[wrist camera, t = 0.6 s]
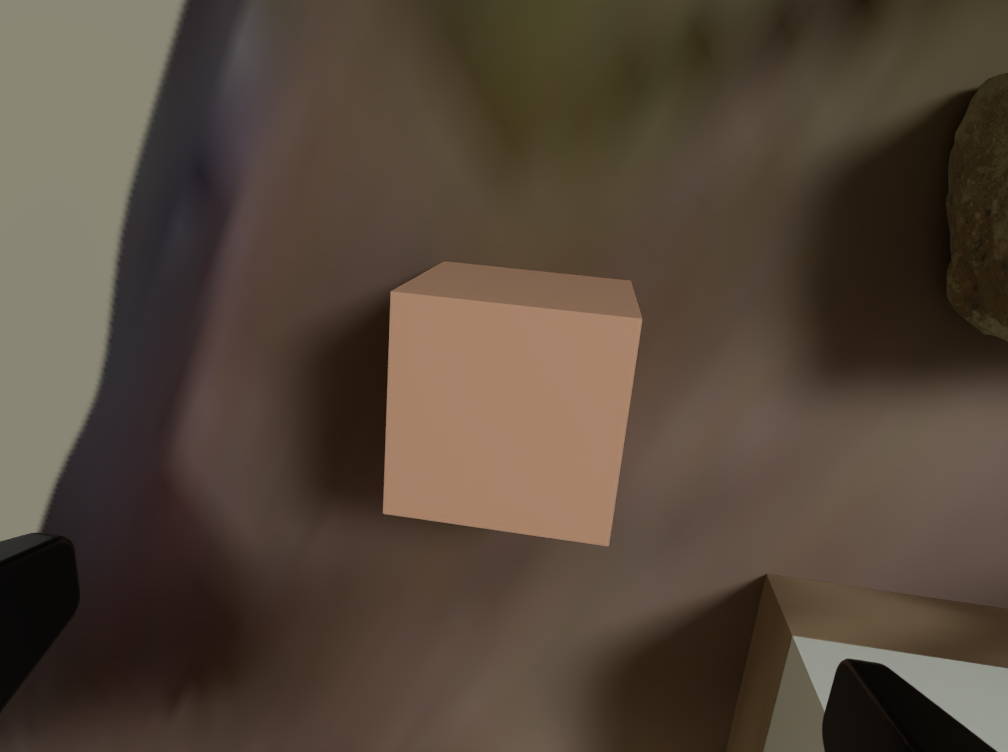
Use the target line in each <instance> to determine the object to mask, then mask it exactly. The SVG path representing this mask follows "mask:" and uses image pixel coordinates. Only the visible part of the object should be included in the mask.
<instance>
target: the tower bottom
mask: <svg viewBox="0 0 1008 752" xmlns="http://www.w3.org/2000/svg"><path fill="white" fill-rule="evenodd" d="M792 636H797V637H804V638H811V639H817V640H824V641H830V642H837V643H844V644H850V645H857V646H863V647H870V648H876V649H883V650H890V651H896V652H903V653H909V654H916V655H923V656H929V657H936V658H942V659H949V660H955V661H962V662H969V663H975V664H982V665H988V666H995V667H1002V668H1008V609H1004V608H997V607H990V606H983V605H976V604H970V603H963V602H956V601H949V600H942V599H935V598H928V597H922V596H915V595H908V594H901V593H894V592H887V591H880V590H874V589H867V588H860V587H853V586H846V585H839V584H832V583H825V582H819V581H812V580H805V579H798V578H791V577H784V576H777V575H771V574H766V578H765V583H764V587H763V591H762V596H761V600H760V604H759V609H758V613H757V617H756V622H755V626H754V630H753V635H752V639H751V644H750V648H749V652H748V657H747V661H746V665H745V670H744V674H743V678H742V683H741V687H740V691H739V696H738V700H737V705H736V709H735V713H734V718H733V722H732V726H731V731H730V735H729V739H728V744H727V748H726V752H763V750H764V747H765V743H766V739H767V735H768V731H769V727H770V723H771V719H772V715H773V711H774V707H775V703H776V699H777V695H778V691H779V687H780V683H781V679H782V675H783V671H784V667H785V663H786V659H787V655H788V652H789V648H790V644H791V640H792Z"/></svg>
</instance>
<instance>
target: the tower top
mask: <svg viewBox="0 0 1008 752" xmlns="http://www.w3.org/2000/svg"><path fill="white" fill-rule="evenodd" d="M848 658H849V659H856V660H863V661H869V662H876V663H881V664H883V665H885V666H887V667H888V668H890V669H891V670H892V671H894V672H895V673H896V674H898V675H899V676H900V677H901V678H903V679H904V680H905V681H907V682H908V683H909V684H911V685H912V686H913V687H914V688H916V689H917V690H918V691H920V692H921V693H922V694H923V695H925V696H926V697H927V698H929V699H930V700H931V701H933V702H934V703H935V704H936V705H938V706H939V707H940V708H942V709H943V710H944V711H946V712H947V713H948V714H949V715H951V716H952V717H953V718H955V719H956V720H957V721H959V722H960V723H961V724H962V725H964V726H965V727H966V728H968V729H969V730H970V731H971V732H973V733H974V734H975V735H977V736H978V737H979V738H981V739H982V740H983V741H984V742H986V743H987V744H988V745H990V746H991V747H992V748H994V749H995V750H996V751H997V752H1008V668H1002V667H995V666H988V665H982V664H975V663H969V662H962V661H955V660H949V659H942V658H936V657H929V656H923V655H916V654H909V653H903V652H896V651H890V650H883V649H876V648H870V647H863V646H857V645H850V644H844V643H837V642H830V641H824V640H817V639H811V638H804V637H797V636H792V640H791V644H790V648H789V652H788V655H787V659H786V663H785V667H784V671H783V675H782V679H781V683H780V687H779V691H778V695H777V699H776V703H775V707H774V711H773V715H772V719H771V723H770V727H769V731H768V735H767V739H766V743H765V747H764V750H763V752H825V750H824V745H823V739H822V722H823V716H824V713H825V709H826V705H827V702H828V698H829V694H830V691H831V687H832V683H833V680H834V676H835V672H836V669H837V667H838V665H839V664H840V662H841V661H843V660H845V659H848Z"/></svg>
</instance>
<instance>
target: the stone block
mask: <svg viewBox="0 0 1008 752" xmlns="http://www.w3.org/2000/svg"><path fill="white" fill-rule="evenodd" d="M946 211H947V221H948V225H949V229H950V251H951V261H950V263H949V266H948V269H947V294H946V297H947V299H948V301H949V302H950V304H951V305H952V307H953V309H954V310H955V312H956V313H957V314H958V315H960V316H961V317H962V318H964V319H965V320H966V321H968V322H969V323H970V324H972V325H973V326H974V327H976V328H977V329H978V330H979V331H981V332H982V333H983V334H987V335H994V336H996V337H998V338H1001V339H1003V340H1006V341H1008V73H1006V74H1001V75H997V76H995V77H992V78H989V79H988V80H986V81H985V82H984V83H983V84H982V85H981V86H980V88H979V89H978V91H977V92H976V94H975V95H974V97H973V98H972V99H971V101H970V103H969V105H968V108H967V111H966V113H965V116H964V118H963V120H962V122H961V124H960V125H959V127H958V129H957V131H956V133H955V140H954V147H953V148H952V150H951V152H950V156H949V165H948V196H947V198H946Z"/></svg>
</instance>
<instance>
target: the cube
mask: <svg viewBox="0 0 1008 752" xmlns="http://www.w3.org/2000/svg"><path fill="white" fill-rule="evenodd" d="M641 325H642V316H641V313H640V309H639V306H638V303H637V300H636V296H635V293H634V290H633V286H632V283H631V281H628V280H619V279H609V278H599V277H590V276H580V275H570V274H561V273H551V272H542V271H532V270H522V269H513V268H503V267H493V266H484V265H474V264H465V263H455V262H445V261H444V262H442V263H440V264H438V265H437V266H435V267H433V268H431V269H430V270H428V271H426V272H424V273H422V274H421V275H419V276H417V277H415V278H414V279H412V280H410V281H408V282H406V283H405V284H403V285H401V286H399V287H398V288H396V289H394V290H392V291H391V297H390V326H389V355H388V384H387V413H386V442H385V471H384V500H383V514H388V515H395V516H402V517H409V518H416V519H423V520H430V521H437V522H444V523H451V524H457V525H464V526H471V527H478V528H485V529H492V530H499V531H506V532H513V533H520V534H527V535H534V536H541V537H547V538H554V539H561V540H568V541H575V542H582V543H589V544H596V545H603V546H609V541H610V534H611V528H612V521H613V514H614V507H615V501H616V494H617V487H618V480H619V474H620V467H621V460H622V453H623V447H624V440H625V433H626V426H627V420H628V413H629V406H630V399H631V392H632V386H633V379H634V372H635V365H636V359H637V352H638V345H639V338H640V332H641Z"/></svg>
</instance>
